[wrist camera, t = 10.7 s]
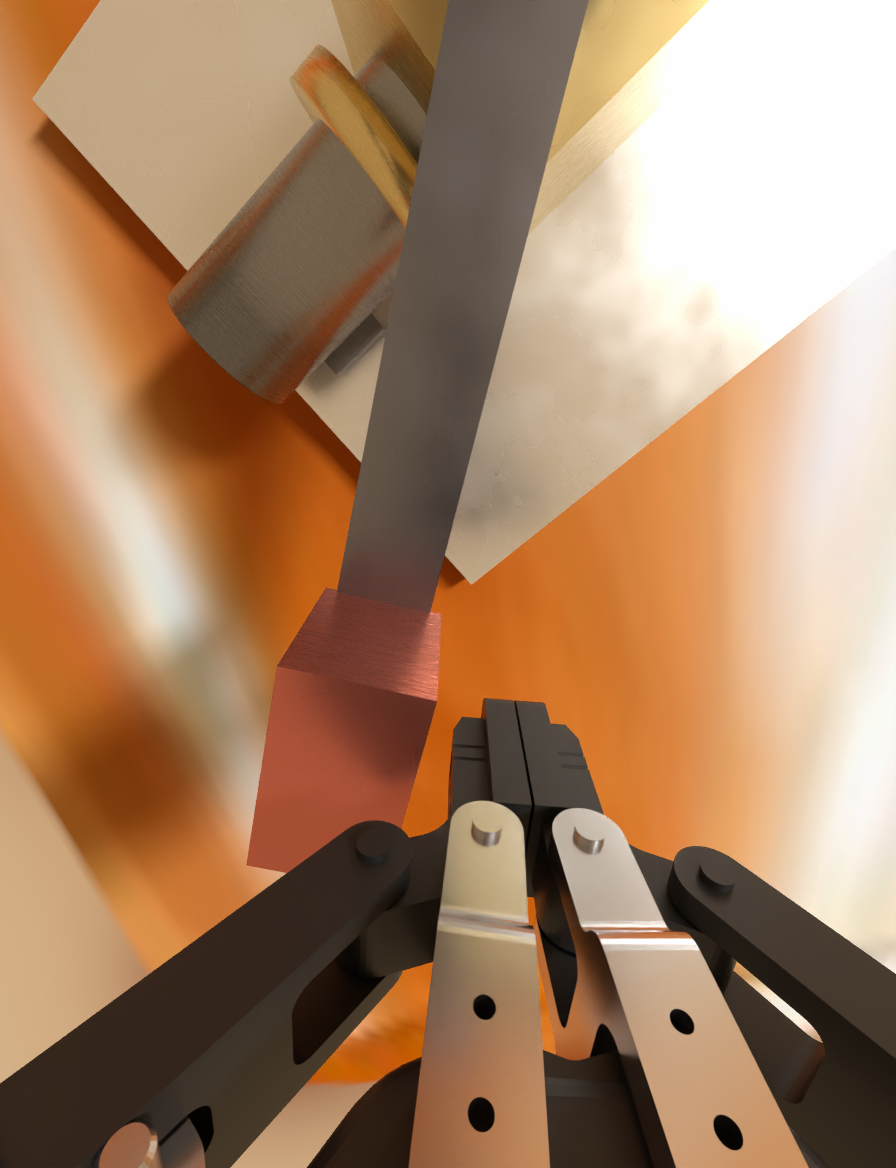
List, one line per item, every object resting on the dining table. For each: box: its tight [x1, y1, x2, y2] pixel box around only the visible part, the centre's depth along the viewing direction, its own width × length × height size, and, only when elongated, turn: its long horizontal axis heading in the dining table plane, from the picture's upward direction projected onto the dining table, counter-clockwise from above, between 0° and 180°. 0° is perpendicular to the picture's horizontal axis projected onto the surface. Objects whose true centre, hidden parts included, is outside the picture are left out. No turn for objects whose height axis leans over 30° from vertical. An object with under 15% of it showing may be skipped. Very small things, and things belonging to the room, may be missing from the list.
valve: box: [32, 0, 896, 585], centre depth 15 cm, size 24×23×10 cm
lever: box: [247, 0, 589, 873], centre depth 10 cm, size 21×4×5 cm, turn 166°
